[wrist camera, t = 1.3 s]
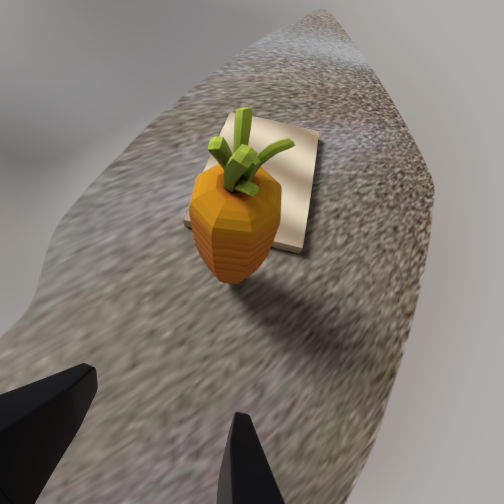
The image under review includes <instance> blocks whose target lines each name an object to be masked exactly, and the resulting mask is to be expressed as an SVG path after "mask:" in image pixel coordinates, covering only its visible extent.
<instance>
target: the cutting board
mask: <svg viewBox="0 0 504 504" xmlns="http://www.w3.org/2000/svg"><path fill="white" fill-rule="evenodd" d="M234 121H235V113H232V112H230V114H229V116H228V118H227V121H226V123H225V125H224V127H223V129H222V131H221V134H220V136H219V137H224V139H225V140H226V142H227V143H228V146H229V148H230V150H231V152H232V155H233V142H234ZM318 136H319V132H318V131H314V130H310V129H306V128H302V127H298V126H294V125H290V124H286V123H281V122H277V121H273V120H268V119H263V118H258V117H253V116H252V123H251V131H250V137H249V144H248V146H249V147H251V148H253V149H254V150H255V151H256V152H257V153H258V154H259V153H260V152H261V151H262V150H263V149H264V148H266V147H267V146H268V145H269V144H271V143H273V142H276V141H278V140H281V139H285V138H290V139H291V140H293V141H294V143H295V145H296V146H294V147H292V148H290V149H287V150H285V151H282V152H280V153H278V154H276V155H275V156H273V157H272V158H270V159H269V160H267V161H266V162H265V163H264V164H262V165H261V167H262V168H263V169H264V170H266V171H267V172H268V173H269V174H270V175H271V176H272V177H273V178H274V179H275V180H276V181H278V182H279V183H280V184H281V187H282V197H281V220H280V225H279V228H278V230H277V233H276V236H275V239H274V242H273V244H272V246H271V247H274V248H278V249H282V250H287V251H291V252H295V253H299V254H300V252H301V250H302V248H303V242H304V236H305V230H306V223H307V217H308V210H309V203H310V196H311V189H312V182H313V175H314V168H315V160H316V152H317V145H318ZM258 154H257V155H258ZM217 164H219V163H218V161H217V160H216V159H215V158H214V157H213V156H212V155H211V156H210V158H209V160H208V162H207V165H206V167H205V169H204V171H206V170H208V169H210V168H212V167H213V166H215V165H217ZM189 206H190V205H189ZM184 226H186V227H190V228H192V226H191V221H190V216H189V207H188V210H187V212H186V215H185V217H184Z"/></svg>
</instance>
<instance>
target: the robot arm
mask: <svg viewBox="0 0 504 504" xmlns="http://www.w3.org/2000/svg"><path fill="white" fill-rule="evenodd" d="M97 388H98V384H97V373H96V369H95V367H93V366H91V365H88V364H86V363H82V364H79V365H77V366H74V367H72V368H69V369H67V370H64V371H62V372H59V373H56V374H54V375H51V376H49V377H46V378H44V379H41V380H38V381H36V382H33V383H30V384H28V385H25V386H22V387H20V388H17V389H14V390H12V391H9V392H6V393H4V394H1V395H0V504H35V502H36V500H37V499H38V497H39V495H40V493H41V492H42V490H43V488H44V487H45V485H46V483H47V481H48V480H49V478H50V476H51V475H52V473H53V471H54V469H55V468H56V466H57V464H58V463H59V461H60V459H61V458H62V456H63V455H64V453H65V451H66V450H67V448H68V446H69V445H70V443H71V441H72V440H73V438H74V437H75V435H76V433H77V432H78V430H79V428H80V426H81V424H82V422H83V420H84V418H85V415H86V413H87V411H88V409H89V407H90V405H91V403H92V401H93V398H94V396H95V394H96V392H97ZM217 504H285V502H284V500H283V497H282V495H281V493H280V490H279V488H278V485H277V483H276V481H275V478H274V476H273V473H272V471H271V469H270V466H269V464H268V461H267V459H266V456H265V454H264V451H263V449H262V446H261V444H260V441H259V439H258V436H257V433H256V431H255V428H254V426H253V423H252V420H251V418H250V416H249V415H248V414H245V413H240V412H235V414H234V417H233V420H232V424H231V427H230V431H229V435H228V439H227V443H226V448H225V452H224V456H223V461H222V465H221V469H220V474H219V481H218V493H217Z"/></svg>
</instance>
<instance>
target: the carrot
mask: <svg viewBox="0 0 504 504" xmlns="http://www.w3.org/2000/svg"><path fill="white" fill-rule="evenodd" d="M251 123H252V108H247V107H243V108H240V109H237V110H236V113H235V121H234V142H233V155H232V152H231V150H230V148H229V146H228V143H227V142H226V140H225V139H224V137H219V136H216V137H213V138H211V140H210V142H209V145H208V150H209V152H210V153H211V155H212V156H213V157H214V158H215V159H216V160H217V161H218V163H219V164H217V165H215V166H213V167H212V168H210V169H208V170H206V171H204V172H202V173H201V174H199V175H197V178H196V181H195V186H194V190H193V194H192V198H191V202H190V206H189V216H190V221H191V226H192V232H193V236H194V240H195V244H196V247H197V249H198V251H199V253H200V255H201V257H202V259H203V260H204V262H205V264H206V265H207V267H208V268H209V269H210V270H211V271H212V273H213V274H214V275H215V276H216V277H217V279H218V280H219V281H221V282H224V283H233V284H238V283H240V282H241V281H243V280H244V279H245V278H247V277H248V276H249V275H251V274H252V273H254V272H255V271H256V270H257V268H258V267H259V266H260V265H261V264H262V262H263V261H264V260H265V258H266V257H267V256H268V253H269V251H270V249H271V246H272V244H273V242H274V239H275V236H276V233H277V230H278V228H279V225H280V220H281V197H282V187H281V184H280V183H279V182H278V181H276V180H275V179H274V178H273V177H272V176H271V175H270V174H269V173H268V172H267V171H266V170H264V169H263V168H262V167H261V165H262V164H264V163H265V162H266V161H267V160H269V159H270V158H272V157H273V156H275V155H276V154H278V153H280V152H282V151H285V150H287V149H290V148H292V147H294V146H296V145H295V143H294V141H293V140H291V139H290V138H285V139H281V140H278V141H276V142H273V143H271V144H269V145H268V146H267V147H266V148H264V149H263V150H262V151H261V152H260V153H259V154H258V153H257V152H256V151H255V150H254V149H253V148H251V147H249V146H248V144H249V137H250V131H251ZM257 154H258V155H257Z"/></svg>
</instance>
